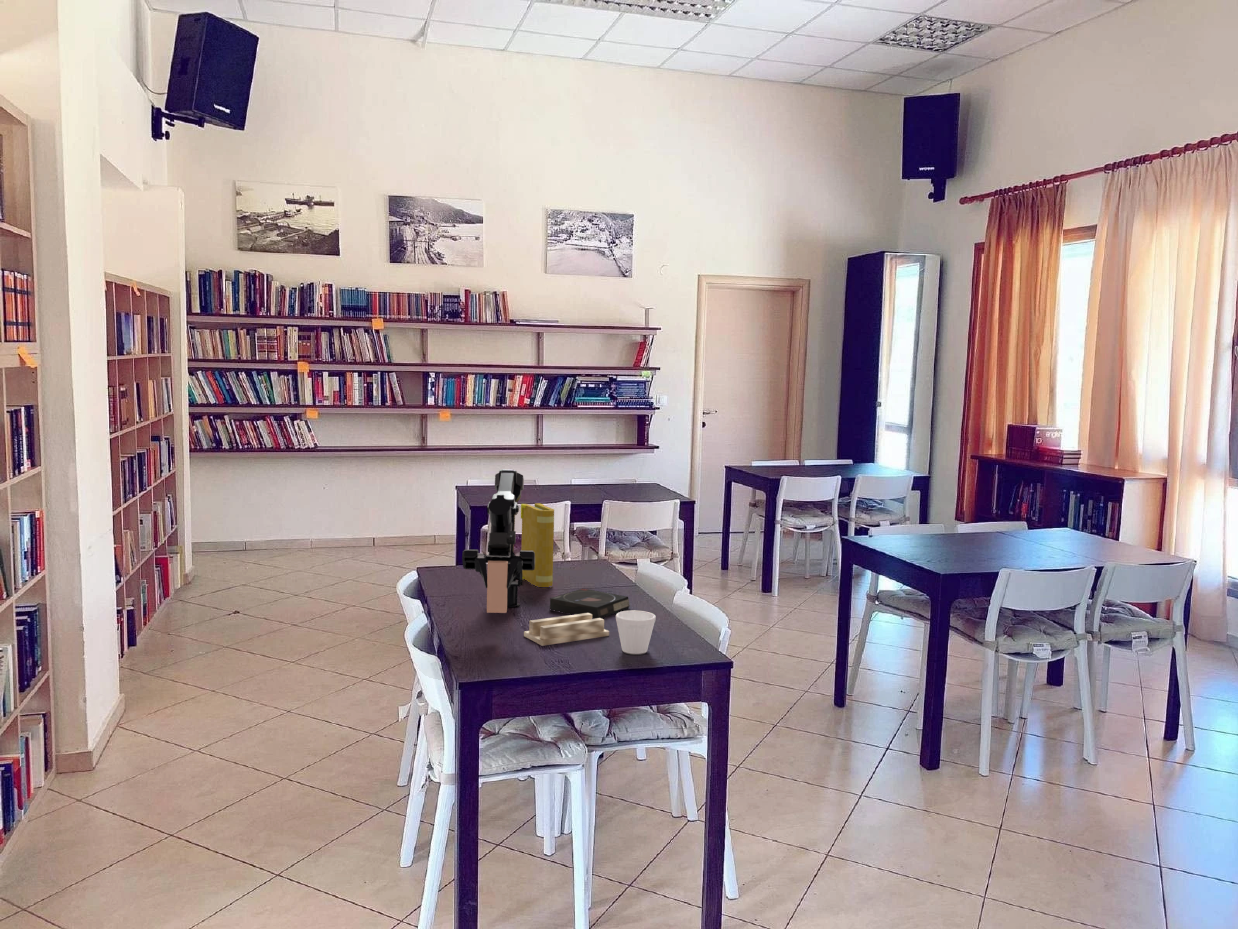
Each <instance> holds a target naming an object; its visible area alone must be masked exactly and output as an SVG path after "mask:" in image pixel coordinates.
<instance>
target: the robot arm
mask: <svg viewBox="0 0 1238 929" xmlns="http://www.w3.org/2000/svg"><path fill="white" fill-rule="evenodd" d="M524 480H525V478H524V475H523V474H521V473H519V472H518V471H517V469H516V470H515V469H511V468H510V469H509V468H507V469H505V468H503V469H499V471H498V473H495V475H494V490H495V491H496V493H494V494H492V496H491V501H489V502H488V505H487V508H486V512H487V514H488V516H489V523H490V532H489V535H488V543H487V553H488V554H486V553H483V552H479V549H468V548H467V549H464V550H463V551H462V554H461V555H462V556H461V561H462V568H463V569H465V570H475V572H476V573H479V574H480V575H481V576H480V577H481V578H482V580H483V584H484V587H485V589H487V568H488V566H487V564H488V561H508V578H507V609H508V608H515V607H516V606H517V607H521V604H520V603H518V594H519V592H518V590H519V589H518V588H520V587H522V586H523V584H524V582H523V581H524V580H523V573H522V570H534V569H535V553H534V551H523V550H520V549H519V555H516V554H515V551H514V549H515V548H514V547H515V544H516V535H517V534H516V532H517V531H516V530H515V526H516V525H515V524H516V516H517V515H518V513H519V512H520V506H519V504H518V502H519V500H521V498H522V491H524V488H525V487H524V486H525V483H524V482H525V481H524ZM517 607H516V608H517Z"/></svg>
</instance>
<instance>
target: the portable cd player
mask: <svg viewBox="0 0 1238 929" xmlns="http://www.w3.org/2000/svg"><path fill="white" fill-rule="evenodd" d="M630 605H631V604H630V599H629V596H628V595H627V596H626V595H622V594H616V593H611V592H610V593H609V592H604V591H600V590H593V589H588V588H584V587H583V588H580V589H576V590H573V591H569V592H566V593H563V594H560V595H557V596H553V597H550V598H549V610H550V609H551V610H555V611H554V612H556V611H560V612H559V613H561V612H563V613H562V614H566V613H570V614H569V615H571V614H574V615H576V614H583V613H590V614H592V618H593V619H596V618H602V619H603V617H604V618H606V617H609V616H612V615H615V614H617V613H619V611H620V612H622V610H623V611H625V610H624V609H626V610H628V609H629V608H630ZM551 610H550V611H551ZM614 613H615V614H614ZM611 614H612V615H611ZM605 616H606V617H605Z"/></svg>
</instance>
